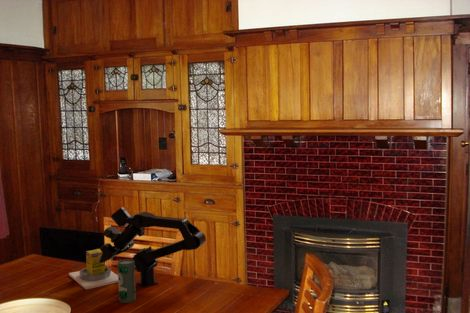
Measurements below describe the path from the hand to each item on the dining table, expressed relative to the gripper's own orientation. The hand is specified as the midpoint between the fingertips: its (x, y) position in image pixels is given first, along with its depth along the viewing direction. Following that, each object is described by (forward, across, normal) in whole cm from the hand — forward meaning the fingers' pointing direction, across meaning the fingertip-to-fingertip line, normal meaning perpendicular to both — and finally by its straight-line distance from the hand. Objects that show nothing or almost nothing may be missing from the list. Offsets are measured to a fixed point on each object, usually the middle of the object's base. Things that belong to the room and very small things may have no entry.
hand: (106, 259), depth 223 cm
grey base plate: (+10, 0, +2) cm, 11 cm away
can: (-8, +18, +21) cm, 29 cm away
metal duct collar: (+10, 0, +2) cm, 11 cm away
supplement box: (+10, 0, +2) cm, 10 cm away
